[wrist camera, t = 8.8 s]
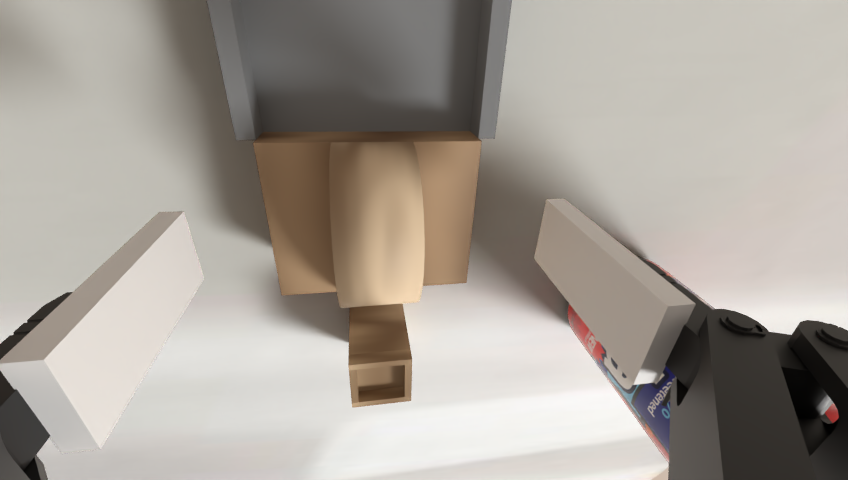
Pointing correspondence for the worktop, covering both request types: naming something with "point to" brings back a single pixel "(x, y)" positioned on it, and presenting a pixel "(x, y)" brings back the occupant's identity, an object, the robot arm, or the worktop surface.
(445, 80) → the tray
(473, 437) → the worktop surface
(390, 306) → the hollow wooden sleeve
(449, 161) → the tan rounded block
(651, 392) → the soda can
